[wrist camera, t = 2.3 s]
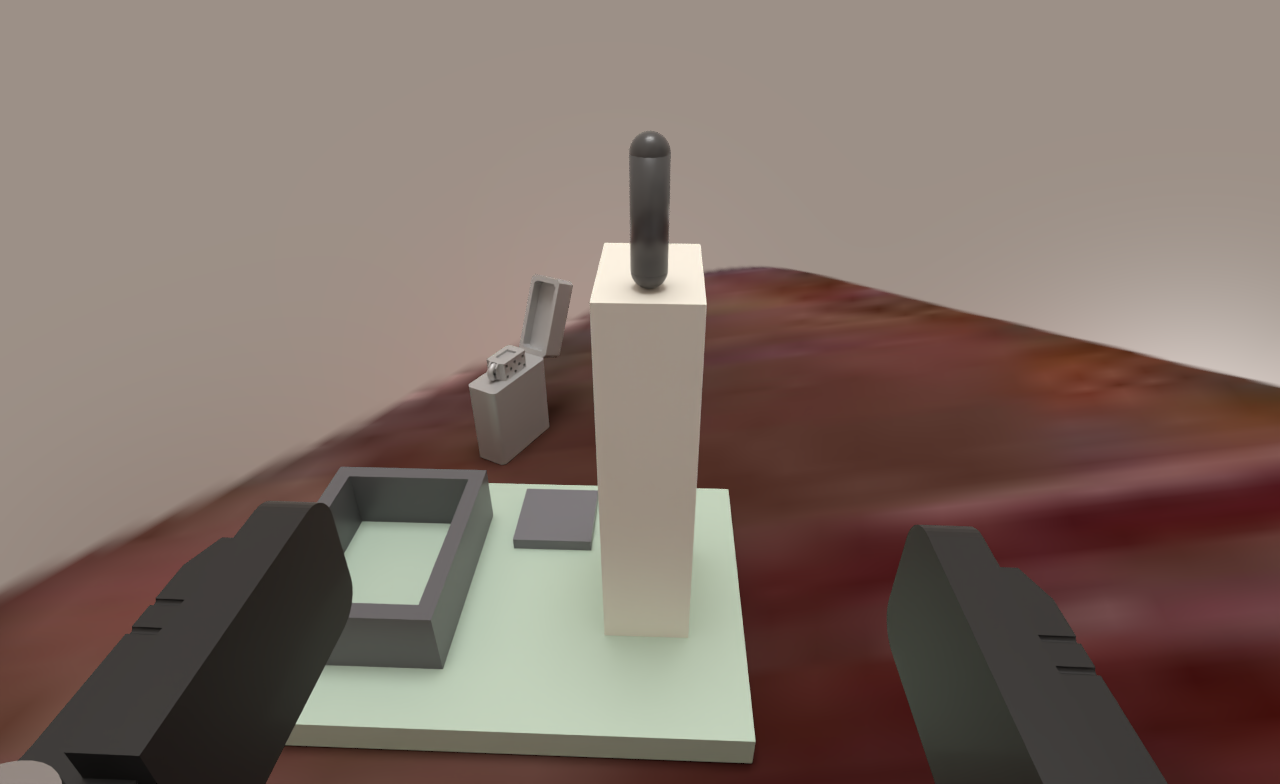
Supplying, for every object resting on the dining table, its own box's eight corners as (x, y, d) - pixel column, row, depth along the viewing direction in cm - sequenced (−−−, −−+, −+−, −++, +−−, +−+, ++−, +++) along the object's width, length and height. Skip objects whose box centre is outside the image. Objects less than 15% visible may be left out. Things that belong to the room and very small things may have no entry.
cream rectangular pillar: (685, 547, 28) (706, 106, 19) (688, 638, 24) (715, 141, 15) (613, 544, 28) (600, 106, 19) (604, 635, 24) (582, 140, 15)
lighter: (504, 465, 35) (484, 324, 30) (477, 456, 35) (455, 316, 31) (580, 400, 40) (572, 272, 36) (556, 392, 41) (546, 266, 36)
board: (726, 509, 32) (732, 445, 30) (752, 763, 22) (762, 692, 20) (349, 499, 32) (330, 436, 30) (200, 741, 22) (157, 670, 20)
